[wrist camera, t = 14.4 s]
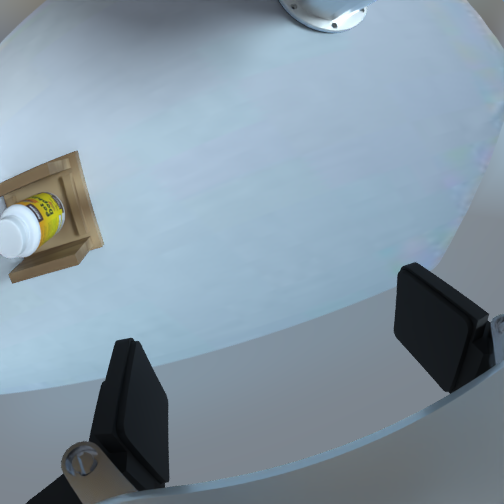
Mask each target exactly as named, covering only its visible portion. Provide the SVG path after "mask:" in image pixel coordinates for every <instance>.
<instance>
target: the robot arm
mask: <svg viewBox="0 0 504 504" xmlns="http://www.w3.org/2000/svg"><path fill="white" fill-rule="evenodd" d="M279 1H280V3H281V5H282V6H283V7H284V9H285V10H286V11H287V12H288V13H289V14H290V15H291V16H292V17H293V18H295V19H296V20H297V21H299V22H300V23H302V24H304V25H306V26H308V27H310V28H312V29H315V30H318V31H323V32H329V33H338V32H344V31H347V30H350V29H352V28H354V27H356V26H357V25H358V24H359V23H361V21H362V20H363V19H364V17H365V15H366V13H367V7H368V5H370V4H371V3H373V2H375V1H377V0H279ZM503 1H504V0H503ZM292 8H293V9H292ZM488 316H489V314H488V313H487V312H486V311H484V310H483V309H482V308H480V307H479V306H478V305H476V304H475V303H474V302H472V301H471V300H469V299H468V298H467V297H465V296H464V295H463V294H461V293H460V292H459V291H457V290H456V289H454V288H453V287H452V286H450V285H449V284H447V283H446V282H444V281H443V280H442V279H440V278H439V277H437V276H436V275H434V274H433V273H431V272H430V271H428V270H427V269H425V268H424V267H423V266H421V265H420V264H418V263H416V262H415V263H411V264H408V265H405V266H403V267H401V270H400V272H399V273H398V277H397V296H396V310H395V322H394V334H395V336H396V338H397V339H398V340H399V341H400V342H401V343H402V344H403V345H404V347H405V348H406V349H407V350H408V351H409V352H410V353H411V354H412V355H413V357H414V358H415V359H416V360H417V361H418V362H419V363H420V364H421V365H422V367H423V368H424V369H425V370H426V371H427V372H428V373H429V374H430V376H431V377H432V378H433V379H434V380H435V381H436V382H437V384H439V386H440V387H441V388H442V389H443V390H444V391H445V392H449V393H450V395H448V396H446V397H444V398H443V399H441V400H439V401H437V402H436V403H434V404H432V405H430V406H428V407H427V408H425V409H423V410H421V411H419V412H417V413H415V414H413V415H411V416H409V417H407V418H405V419H403V420H401V421H399V422H397V423H395V424H393V425H390V426H388V427H386V428H384V429H382V430H380V431H377V432H375V433H373V434H370V435H368V436H366V437H363V438H361V439H358V440H356V441H353V442H351V443H348V444H345V445H343V446H340V447H338V448H335V449H332V450H329V451H326V452H323V453H320V454H318V455H314V456H312V457H308V458H305V459H302V460H299V461H295V462H292V463H288V464H285V465H281V466H278V467H274V468H270V469H266V470H263V471H258V472H254V473H249V474H245V475H240V476H235V477H230V478H225V479H219V480H215V481H208V482H202V483H196V484H190V485H182V486H173V487H167V488H165V483H166V482H169V454H168V453H169V451H168V399H167V396H166V393H165V391H164V390H163V388H162V386H161V384H160V382H159V380H158V378H157V376H156V374H155V372H154V370H153V368H152V366H151V364H150V362H149V360H148V358H147V356H146V354H145V352H144V350H143V348H142V345H141V344H140V342H139V341H134V339H133V338H127V339H122V340H117V341H116V342H115V345H114V349H113V352H112V356H111V360H110V364H109V368H108V371H107V375H106V380H105V381H104V382H103V383H102V385H101V389H100V392H99V396H98V401H97V405H96V409H95V414H94V418H93V423H92V428H91V433H90V438H89V442H87V441H83V442H78V443H76V444H74V445H72V446H71V447H70V448H68V449H67V450H66V452H65V453H64V455H63V457H62V460H61V468H62V471H63V474H62V475H61V476H60V477H59V478H57V479H56V480H55V481H54V482H52V483H51V484H50V485H49V486H47V487H46V488H45V489H43V490H42V491H41V492H40V493H38V494H37V495H36V496H34V497H33V498H32V499H30V500H29V501H28V502H27V503H26V504H504V314H500V315H497V316H495V317H494V318H493V319H492V321H491V323H490V322H489V321H488Z"/></svg>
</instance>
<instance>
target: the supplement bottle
mask: <svg viewBox="0 0 504 504" xmlns="http://www.w3.org/2000/svg"><path fill="white" fill-rule="evenodd" d="M64 220H65V210H64V207H63V204H62V202H61V201H60V199H59V198H58V197H57V196H56V195H54V194H52V193H50V192H41V193H38V194H35V195H33V196H31V197H29V198H26V199H24V200H22V201H20V202H18V203H16V204H13V205H11V206H10V207H8V208H7V209H5V210H4V212H3V213H2V215H1V217H0V254H1V255H2V256H4V257H6V258H9V259H12V258H15V257H20V258H23V257H27V256H30V255H31V254H33V253H34V252H35V251H36V250H37V249H38V248H40V247H41V246H42V245H43V244H44V243H46V242H47V241H48V240H49V239H50V238H52V237H53V236H54V235H55V234H57V233H58V232H59V231H60V229H61V228H62V226H63V224H64Z"/></svg>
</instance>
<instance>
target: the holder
mask: <svg viewBox="0 0 504 504" xmlns="http://www.w3.org/2000/svg"><path fill="white" fill-rule="evenodd" d="M41 192H50V193H52V194H54V195H56V196H57V197H58V198H59V199H60V201H61V202H62V204H63V207H64V210H65V220H64V224H63V226H62V228H61V229H60V231H59V232H58V233H57V234H55V235H54V236H53V237H52V238H50V239H49V240H48V241H47V242H46V243H44V244H43V245H42V246H41V247H40V248H38V249H37V250H36V251H35V252H34V253H33V254H31V255H30V256H27V257H24V260H23V261H22V262H21V263H20V264H19V265H18V266H17V267H16V268H15V269H14V270H12V271H11V272H10V273H9V274H8V275H9V277H10V279H11V282H12V284H13V283H16V282H20V281H23V280H26V279H30V278H33V277H37V276H40V275H44V274H47V273H51V272H54V271H58V270H61V269H65V268H68V267H72V266H76V265H79V264H80V262H81V261H82V260H83V258H84V257H85V256H86V254H87V253H88V252H89V251H90V250H93V249H97V248H100V247H102V246H103V245H104V242H103V239H102V236H101V233H100V230H99V227H98V224H97V221H96V217H95V214H94V211H93V207H92V204H91V201H90V197H89V194H88V190H87V186H86V182H85V179H84V175H83V171H82V167H81V163H80V159H79V154H78V151H74V152H72V153H69V154H66V155H64V156H61V157H59V158H56V159H54V160H51V161H49V162H46V163H44V164H42V165H39V166H37V167H35V168H32V169H30V170H28V171H25V172H23V173H21V174H19V175H17V176H15V177H12V178H10V179H8V180H6V181H4V182H2V183H0V197H1V196H4V200H5V203H6V207H7V208H8V207H10V206H11V205H13V204H16V203H18V202H20V201H22V200H24V199H26V198H29V197H31V196H33V195H35V194H38V193H41Z"/></svg>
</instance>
